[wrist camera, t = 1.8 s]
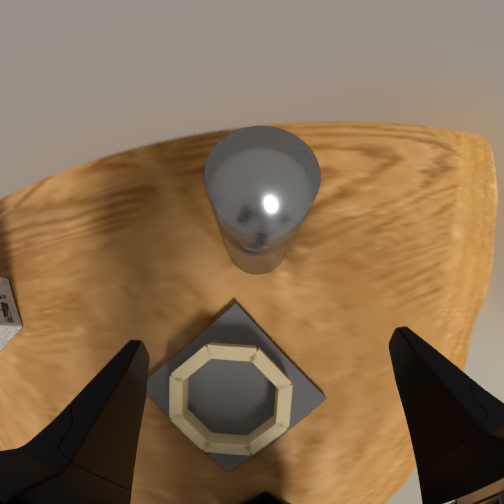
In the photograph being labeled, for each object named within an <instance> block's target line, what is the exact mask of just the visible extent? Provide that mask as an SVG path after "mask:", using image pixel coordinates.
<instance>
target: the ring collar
mask: <svg viewBox="0 0 504 504" xmlns="http://www.w3.org/2000/svg"><path fill="white" fill-rule="evenodd" d="M146 392H147V394H148V395H149V396H150V397H151V398H152V399H153V401H154V402H155V403H156V404H157V405H158V406H159V407H160V408H161V409H162V411H163V412H164V413H165V414H166V415H167V416H168V417H169V418H170V419H171V421H172V422H173V423H174V424H175V425H176V426H177V427H178V428H179V429H180V430H181V431H182V432H183V433H184V434H185V435H186V436H187V437H188V438H189V439H190V440H191V441H192V442H193V443H194V444H196V445H197V446H198V447H199V448H200V449H201V450H203V451H204V452H205V453H206V454H207V455H208V456H209V457H211V458H212V459H213V460H214V461H215V462H216V463H218V464H219V465H220V466H221V467H222V468H224V469H225V470H226V471H227V472H229V471H231V470H232V469H234V468H236V467H237V466H239V465H240V464H242V463H243V462H245V461H247V460H248V459H250V458H251V457H253V456H254V455H256V454H257V453H258V452H260V451H261V450H263V449H264V448H266V447H267V446H268V445H270V444H271V443H273V442H274V441H275V440H277V439H278V438H279V437H281V436H282V435H283V434H285V433H286V432H287V431H289V430H290V429H291V428H292V427H294V426H295V425H296V424H297V423H299V422H300V421H301V420H302V419H303V418H305V417H306V416H307V415H308V414H309V413H311V412H312V411H313V410H314V409H315V408H316V407H317V406H319V405H320V404H321V403H322V402H323V401H324V400H325V399H326V397H325V396H324V395H323V394H322V393H321V392H320V391H319V390H318V389H317V388H316V387H315V386H314V385H313V384H312V383H311V382H310V381H309V380H308V379H307V378H306V377H305V376H304V375H303V374H302V373H301V372H300V371H299V370H298V369H297V368H296V367H295V366H294V365H293V364H292V363H291V362H290V361H289V360H288V358H287V357H286V356H285V355H284V354H283V353H282V352H281V351H280V350H279V349H278V348H277V347H276V346H275V345H274V344H273V343H272V342H271V341H270V339H269V338H268V337H267V336H266V335H265V334H264V333H263V332H262V331H261V330H260V329H259V328H258V327H257V325H256V324H255V323H254V322H253V321H252V320H251V319H250V318H249V317H248V316H247V315H246V313H245V312H244V311H243V310H242V309H241V308H240V307H239V306H238V305H237V303H236V304H234V305H233V306H232V307H231V308H230V309H229V310H228V311H226V312H225V313H224V314H223V315H222V316H221V317H219V318H218V319H217V320H216V321H215V322H214V323H213V324H211V325H210V326H209V327H208V328H207V329H206V330H204V331H203V332H202V333H201V334H200V335H199V336H197V337H196V338H195V339H194V340H193V341H191V342H190V343H189V344H188V345H187V346H186V347H184V348H183V349H182V350H181V351H180V352H178V353H177V354H176V355H175V356H174V357H172V358H171V359H170V360H169V361H168V362H166V363H165V364H164V365H163V366H162V367H160V368H159V369H158V370H157V371H156V372H154V373H153V374H152V375H151V376H149V377H148V379H147V390H146Z"/></svg>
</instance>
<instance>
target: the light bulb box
mask: <svg viewBox="0 0 504 504" xmlns="http://www.w3.org/2000/svg"><path fill="white" fill-rule="evenodd" d="M21 328H22V323H21V320H20V318H19V314H18V311H17V308H16V305H15V302H14V298H13V295H12V291H11V287H10V283H9V280H8V279H6V278H2V277H0V351H1V349H2V348H3V347H4V346H5V345H6V344H7V343H8V342H9V341H10V340H11V339H12V338H13V336H14V335H15V334H16V333H17V332H18V331H19V330H20V329H21Z"/></svg>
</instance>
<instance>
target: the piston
mask: <svg viewBox="0 0 504 504" xmlns="http://www.w3.org/2000/svg"><path fill="white" fill-rule="evenodd" d="M204 181H205V185H206V189H207V192H208V195H209V198H210V201H211V204H212V207H213V210H214V213H215V216H216V219H217V222H218V225H219V228H220V231H221V234H222V236H223V239H224V242H225V245H226V248H227V251H228V254H229V256H230V258H231V260H232V262H233V263H234V264H235V265H236V266H237V267H238V268H239V269H241V270H242V271H244V272H247V273H250V274H265V273H268V272H270V271H272V270H274V269H275V268H277V267H278V266H279V265H280V264H281V262H282V261H283V259H284V257H285V255H286V253H287V251H288V250H289V248H290V246H291V244H292V242H293V240H294V238H295V236H296V234H297V232H298V230H299V228H300V227H301V225H302V223H303V221H304V219H305V217H306V215H307V213H308V211H309V209H310V207H311V205H312V203H313V201H314V199H315V197H316V195H317V193H318V190H319V187H320V181H321V174H320V167H319V164H318V161H317V159H316V157H315V155H314V153H313V152H312V150H311V149H310V148H309V146H308V145H307V144H306V143H305V142H304V141H302V140H301V139H300V138H298V137H297V136H295V135H294V134H292V133H290V132H288V131H285V130H283V129H279V128H275V127H270V126H252V127H246V128H242V129H239V130H236V131H234V132H232V133H230V134H228V135H227V136H225V137H224V138H223V139H221V140H220V141H219V142H218V143H217V144H216V145H215V146H214V147H213V149H212V150H211V152H210V153H209V155H208V158H207V160H206V163H205V167H204Z"/></svg>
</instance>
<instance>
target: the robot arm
mask: <svg viewBox="0 0 504 504" xmlns="http://www.w3.org/2000/svg"><path fill="white" fill-rule="evenodd" d="M389 351H390V356H391V360H392V365H393V370H394V375H395V380H396V384H397V388H398V391H399V395H400V398H401V402H402V405H403V409H404V412H405V416H406V420H407V424H408V428H409V432H410V436H411V441H412V445H413V450H414V455H415V460H416V465H417V471H418V476H419V482H420V489H421V495H422V503H423V504H443V503H446V502H449V501H452V500H455V501H454V502H452V503H450V504H504V403H502V402H501V401H500V400H498V399H497V398H495V397H494V396H492V395H491V394H490V393H489V392H487V391H486V390H484V389H483V388H482V387H481V386H480V385H478V384H477V383H476V382H475V381H473V380H472V379H471V378H469V376H467V375H466V374H465V373H464V372H463V371H461V370H460V369H459V368H458V367H457V366H455V365H454V364H453V363H452V362H451V361H449V360H448V359H447V358H446V357H444V356H443V355H442V354H441V353H439V352H438V351H437V350H436V349H434V348H433V347H432V346H431V345H429V344H428V343H427V342H426V341H424V340H423V339H422V338H421V337H419V336H418V335H417V334H415V333H414V332H413V331H412V330H410V329H409V328H408V327H406V326H403V327H398V328H396V329H395V331H394V333H393V335H392V337H391V339H390V341H389ZM148 368H149V354H148V352H147V350H146V348H145V346H144V343H143V342H142V341H141V340H130V341H129V342H128V343H127V344H126V345H125V346H124V347H123V348H122V349H121V350H120V351H119V352H118V353H117V354H116V355H115V356H114V357H113V358H112V359H111V360H110V361H109V363H108V364H107V365H106V366H105V367H104V368H103V369H102V370H101V371H100V372H99V373H98V374H97V375H96V376H95V377H94V378H93V379H92V380H91V381H90V382H89V383H88V384H87V386H86V387H85V388H84V389H83V390H82V391H81V392H80V393H79V394H78V395H77V396H76V397H75V398H74V399H73V400H72V402H71V403H70V404H69V405H68V406H67V407H66V408H65V409H64V410H63V411H62V412H61V413H60V414H59V415H58V416H57V417H56V418H55V419H54V420H53V421H52V422H51V423H50V424H49V425H48V426H47V427H46V428H44V429H43V430H42V431H41V432H40V433H39V434H37V435H36V436H35V437H34V438H33V439H32V440H31V441H29V442H28V443H27V444H25V445H24V446H22V447H20V448H17V449H11V450H5V451H0V504H130V501H131V490H132V481H133V473H134V465H135V458H136V451H137V444H138V438H139V432H140V426H141V421H142V415H143V410H144V405H145V399H146V390H147V379H148ZM264 496H268V497H264ZM242 504H286V503H284V502H283V501H281V500H279V499H278V498H276V497H275V496H273V495H272V494H270V493H268V492H264V493H262V494H260V495H258V496H257V497H255V498H253V499H251V500H249V501H246V502H244V503H242Z"/></svg>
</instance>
